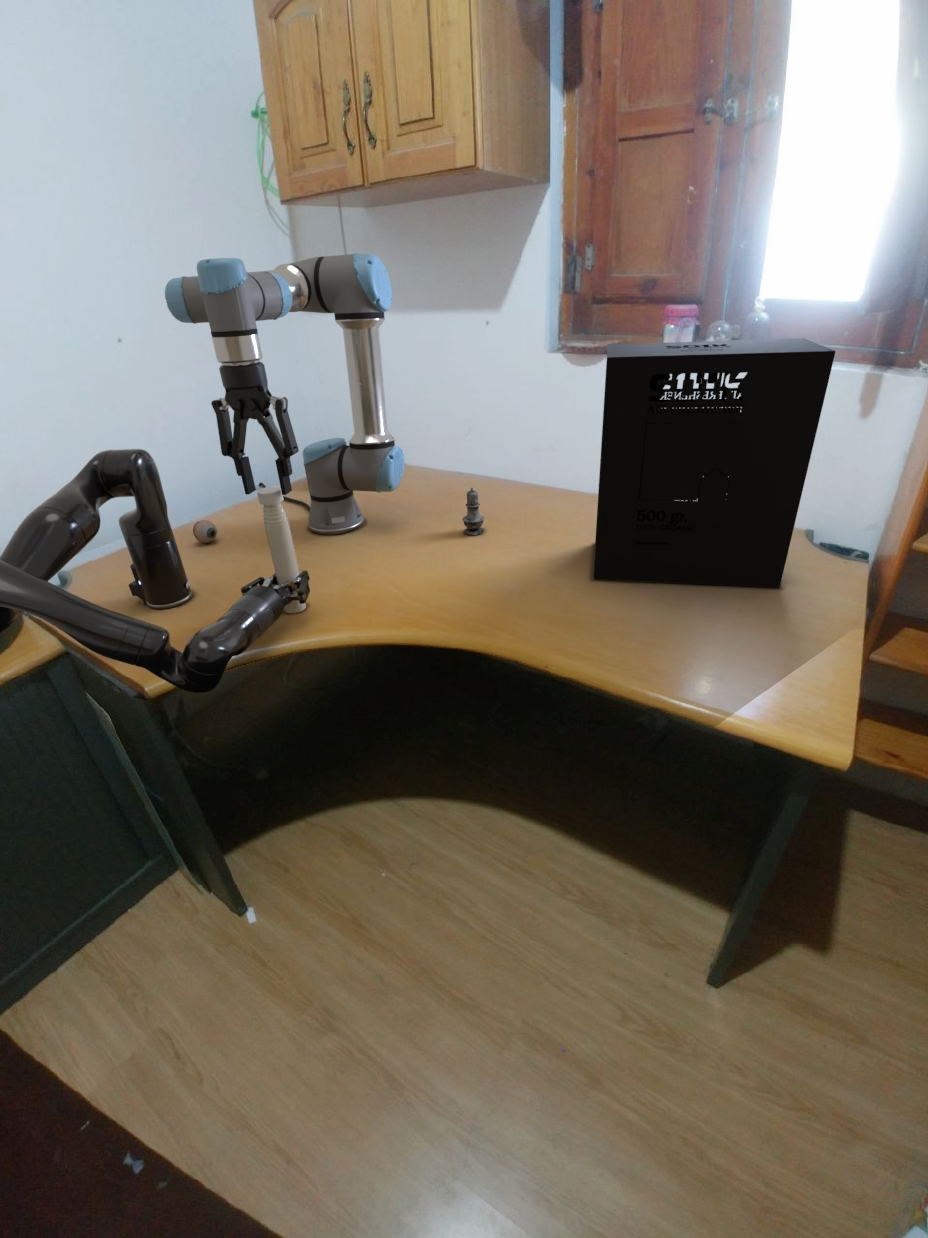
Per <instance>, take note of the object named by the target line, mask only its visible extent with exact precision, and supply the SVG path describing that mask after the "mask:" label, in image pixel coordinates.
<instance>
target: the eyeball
mask: <svg viewBox="0 0 928 1238" xmlns="http://www.w3.org/2000/svg"><path fill="white" fill-rule="evenodd" d="M192 535H193V537H194V538H195V540H197V541H198V542H201V543H204V544H205V543H206V544H207V543H211V542H213V541H214V540H215V539H216V538H217V535H218V529H217V527H216V524H214V523H213V522H212V521H210V520H207V519H204V520H203V519H202V520H199V521H197V522H195V524H194V525H193V527H192Z"/></svg>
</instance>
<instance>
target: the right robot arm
mask: <svg viewBox="0 0 928 1238" xmlns="http://www.w3.org/2000/svg"><path fill="white" fill-rule="evenodd" d="M196 272H197V273H196V274H197V275H195V276H193V275H192V276H186V275H185V276H179V277H176V278H175V277H174V278H171V279H169V281H167V283H166V285H165V288H164V299H165V301H166V306H167V309H168V311H169V312H170V313H171V315H172V317H174V318H175V320H177V321H179V322H181V323H185V324H186V323H187V324H194V325H197V324H200V323H201V324H202V323H203V324H204V323H208V324H209V329H210V334H211V340H212V344H213V345H212V346H213V349H214V353H215V359H216V361H217V362H218V363H219V364H221V365H220V366H219V368H218V370H219V374H220V378H221V383H222V387H223V388H224V391H225V392H224V393H225V395H224V397H219V398H216V399H214V400H212V401H210V402H211V403H210V404H211V407H212V409H213V411H214V413H215V416H216V417H215V418H216V424H217V430H218V437H219V438H218V439H219V444H220V452H221V455H222V456H223V457H229V458H231V459H232V460H233V463H234V467H235V472H236V475H237V476H238V477H241V481H242V485H243V489H244V493H245V495H250V494H252V493H254V492H256V491H257V488H256V483H255V480H254V475H253V471H252V467H251V463H250V462H251V461H250V457H249V456H246V452H245V445H246V437H247V427H248V423H249V419H251V420H256V422H257V423H258V424H259V425H260V426H261V428H262V429H263V431H264V433H265V435H266V437H267V438H268V440H269V443H270V444H271V446H272V447H273V449H274V452H275V454H276V455H277V459H276V460H274V463H275V466H276V467H275V468H276V471H277V476H278V481H279V487H281V491H282V495H283V498H284V501H288V502H292V503H297V504H300V505H302V506H304V507H305V508H306V509H307V510H308V511H309V513H308V528H309V529H308V530H310V531H311V532H312V533H314V534H317V535H323V536H324V535H325V536H327V535H329V536H331V535H339V534H340V535H341V534H345V533H350V532H353V531H355V530H357V529H359V528H361V527H362V526H363V525H364V523H365V519H364V514H363V512H362V510H361V508H360V505H359V504H358V501H357V500H356V498H355V495H354V492H375V493H391V492H393V491H395V490H397V488H398V487H399V485H400V484H401V482H402V479H403V476H404V472H405V453H404V451H403V448H402V447H400V446H398V445H396V443H395V441H396V440H395V437H394V436H393V435H392V434H391V433H390V431H389V429H388V418H387V405H386V395H385V394H386V393H385V383H384V382H385V381H384V371H383V360H382V359H383V358H382V347H381V336H380V335H381V334H380V328H381V325H382V324H383V323H384V322H385V312H387V311H389V310H390V309H391V307H392V300H393V290H392V289H393V288H392V284H391V280H390V275H389V273H388V270H387V268H386V267H385V265H384V263H383V261H382V260H381V259H380V258H379V257H378V256H377V255H376V254H372V253H359V252H357V253H351V254H339V255H327V256H326V255H325V256H314V257H309V258H306V259H301V260H299V261H295V262H289V263H283V264H279V265H278V266H276V267H275V268H274V269H272V270H260V271H259V270H258V271H247V269H246V267H245V263H244V261H243V260H242V259H240V258H238V257H219V258H206V259H201V260H199V261H197V263H196ZM296 312H298V313H299V312H301V313H303V312H304V313H318V314H334V322H335V323H336V324H337V325H338V326H339V327H340V328H341V330H342V336H343V345H344V354H345V355H344V356H345V363H346V373H347V381H348V391H349V399H350V408H351V420H352V428H353V435H352V436H351V437H350V438H349V439H348V443H349V445H348V444H347V441H346V439H345V438H342V437H334V438H328V439H323V440H318V441H315V442H313V443H309V444H308V445H306V446H305V447H304V448H303V450H302V457H303V458H302V460H303V467H304V471H305V477H306V481H307V486H308V492H309V498H310V505H309V504H308V503H306V502H304V501H302V500H298V499H295V498H291V497H288V496H286V495H288V494H290V493H291V492H292V491H293V489H292V483H291V477H290V476H292V474H293V468H292V462H291V457H292V456H294V455H296V454H297V453H299V451H300V450H299V446H298V443H297V438H296V436H295V435H296V434H295V432H294V429H293V424H292V421H291V417H290V414H289V411H288V410H289V409H288V408H289V407H288V405H289V401H288V398H287V397H286V396H281V397H278V396H274V395H272V393H271V391H270V389H269V385H268V383H269V382H268V381H269V380H268V377H267V372H266V366H265V363H264V362H262V361H260V360H262V359H263V353H262V352H263V351H262V347H261V342H260V338H259V331H258V328H257V322H260V321H261V322H262V321H269V320H270V321H271V320H273V321H276V320H278V319H280V318H283V317H285V316H287V315H288V314H289V313H296ZM270 406H272V409H273V411H274V412H275V413H274V414H275V418H276V421H277V424H278V427H277V425H276V423H275V422H274V417H273V414H272V413H271V411H270ZM230 408H231V409H232V411H233V418H232V422H233V431H232V423H231V415H230V412H229V409H230ZM258 487H261V488H265V487H267V486H266V485H265V484H264V483H263V482H259V483H258Z"/></svg>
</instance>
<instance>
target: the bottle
mask: <svg viewBox="0 0 928 1238" xmlns="http://www.w3.org/2000/svg"><path fill="white" fill-rule="evenodd" d="M262 506H263V507H262V517H263V526H264V530H265V535H266V539H267V543H268V548H269V551H270V556H271V560H272V561H271V562H272V565H273V569H274V573H275V574H276V578H277V582H278V585H280V584H282V583H284V582H286V581H288V580H289V581H292V580H294V579H296V577H297V576H298V575H299V574H300V573H301V572H300V569H299V565H298V560H297V559H298V558H297V554H296V550H295V545H294V541H293V535H292V531H291V526H290V521H289V519H288V515H287V512H286V510H285V508H284V505H283V503H282V502H280V503H278V504H274V505H262ZM295 588H297V586H296V584H295ZM306 608H307V603H304V604H300V602H299V600H296V601H292V602H291V603H290V604H287V605H286V606H285V607H284V610H283V612H285V613H287V614H297V613H301V612H302V611H304V610H305V609H306Z"/></svg>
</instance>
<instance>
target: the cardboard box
mask: <svg viewBox="0 0 928 1238" xmlns="http://www.w3.org/2000/svg"><path fill="white" fill-rule="evenodd" d="M835 356H836V350H834V349H831V348H829V347H827V346H824V345H821V344H819V343H816V342H814V341H812V340H810V339H806V338H804V337H799V338H798V337H797V338H796V337H795V338H794V337H793V338H767V339H766V338H765V339H737V340H736V339H735V340H732V339H731V340H707V341H705V340H703V341H675V342H672V341H671V342H670V341H669V342H648V343H647V342H646V343H645V342H644V343H643V342H642V343H639V342H638V343H613V344H612V343H611V344H609V343H607V349H606V363H605V364H606V365H605V367H606V368H605V381H604V396H603V411H602V412H603V413H602V429H601V444H600V445H601V446H600V461H599V477H598V479H599V480H598V494H597V507H596V508H597V509H596V511H597V512H596V523H595V524H596V525H595V538H594V539H595V540H594V559H593V561H594V562H593V579H592V580H595V581H612V582H613V581H616V582H617V581H618V582H636V583H638V582H639V583H660V584H661V583H662V584H680V585H681V584H682V585H683V584H684V585H706V586H726V587H727V586H729V587H748V588H749V587H750V588H751V587H752V588H770V589H771V588H772V589H780V588H781V583H782V579H783V575H784V571H785V567H786V562H787V558H788V554H789V550H790V545H791V542H792V539H793V538H792V537H793V533H794V529H795V524H796V521H797V516H798V512H799V507H800V505H801V504H800V503H801V499H802V495H803V491H804V488H805V487H804V486H805V483H806V478H807V475H808V474H807V473H808V469H809V465H810V461H811V457H812V452H813V450H814V449H813V448H814V444H815V441H816V437H817V431H818V428H819V423H820V420H821V415H822V410H823V407H824V402H825V398H826V393H827V389H828V385H829V381H830V377H831V372H832V368H833V365H834V360H835ZM741 373H746V374H745V375H744V377H741V378H738V376H739V374H741ZM682 374H684V378H683V381H682V385H681V386H682V388H678V385H679V384H678V383H679V379H678V377H679V376H680V375H682ZM692 374H696V378H695V379H694V378H691V376H692ZM706 374H707V378H705V375H706ZM723 375H724V376H723ZM727 377H729V378H728V381H727V382H728V385H729V384H731V385H732V384H738V385H737V387H727V385H726V379H727ZM722 379H723V380H722ZM694 384H696V385H697V384H698V387H695V388H694ZM708 384H713V388H712V387H711V388H710V387H709V388H708ZM666 386H668V387H669V388H665V387H666Z"/></svg>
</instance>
